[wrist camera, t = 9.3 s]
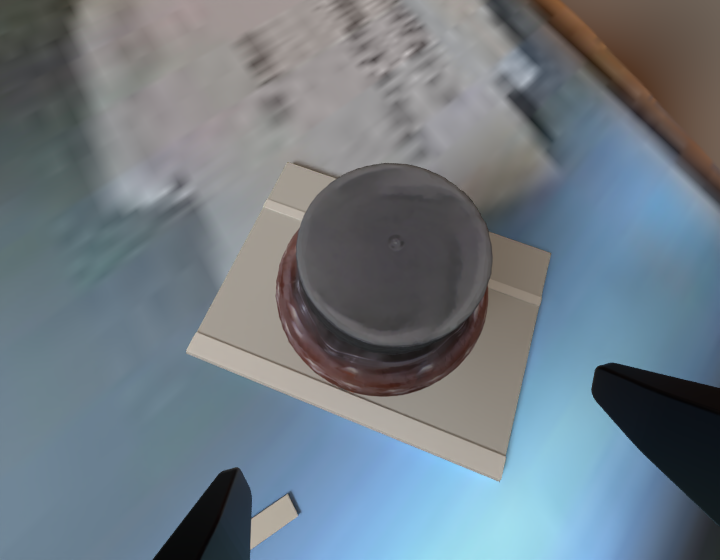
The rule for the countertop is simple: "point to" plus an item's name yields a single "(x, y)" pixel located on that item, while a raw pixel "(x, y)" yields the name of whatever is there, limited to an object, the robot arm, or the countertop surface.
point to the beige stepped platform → (383, 414)
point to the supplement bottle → (386, 280)
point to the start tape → (272, 520)
